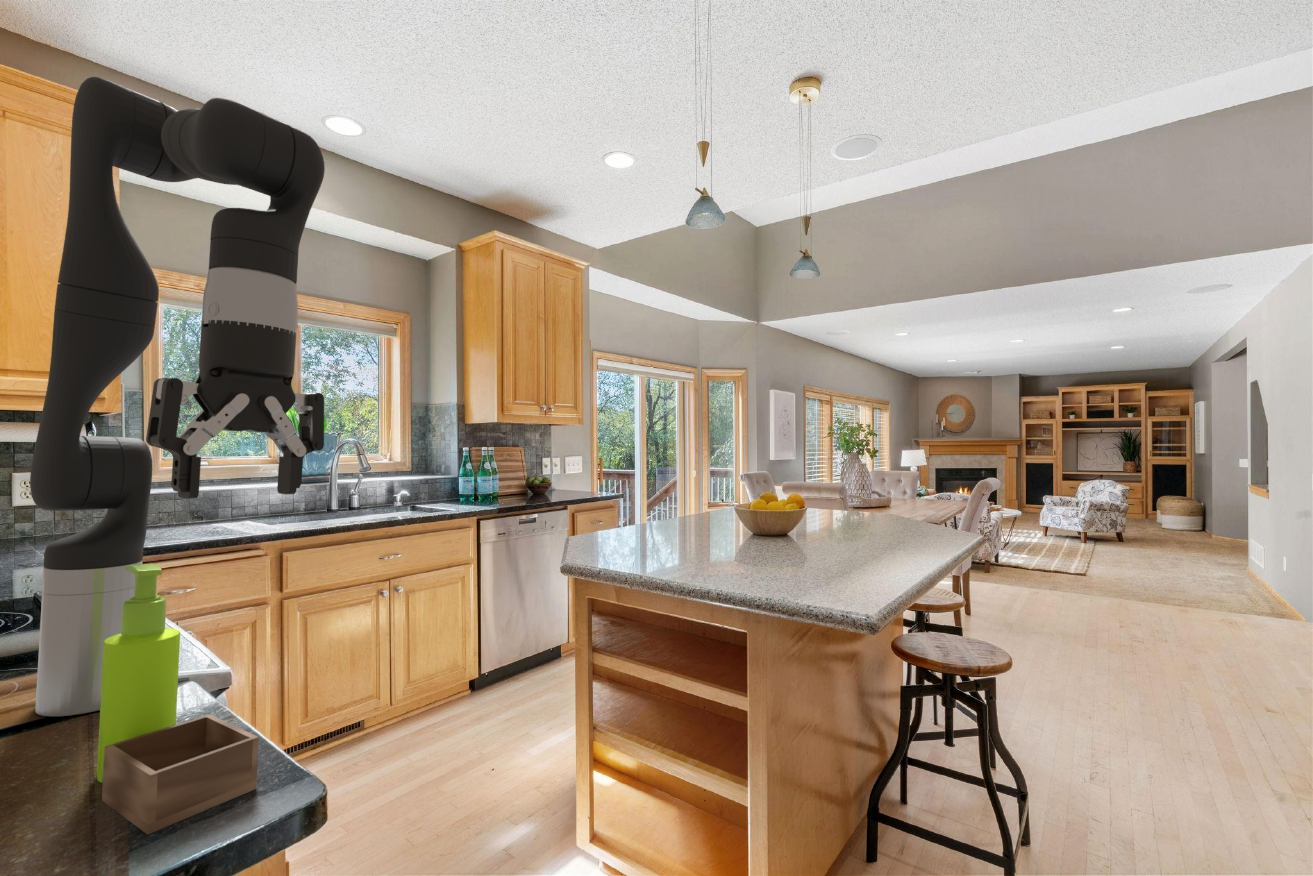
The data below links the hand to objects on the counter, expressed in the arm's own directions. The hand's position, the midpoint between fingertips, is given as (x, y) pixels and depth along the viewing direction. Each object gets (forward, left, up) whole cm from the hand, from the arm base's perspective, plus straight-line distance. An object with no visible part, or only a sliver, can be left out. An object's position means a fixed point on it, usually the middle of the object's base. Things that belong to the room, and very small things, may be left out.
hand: (240, 495), depth 58 cm
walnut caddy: (-3, -2, -28) cm, 28 cm away
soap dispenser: (-13, -2, -28) cm, 31 cm away
